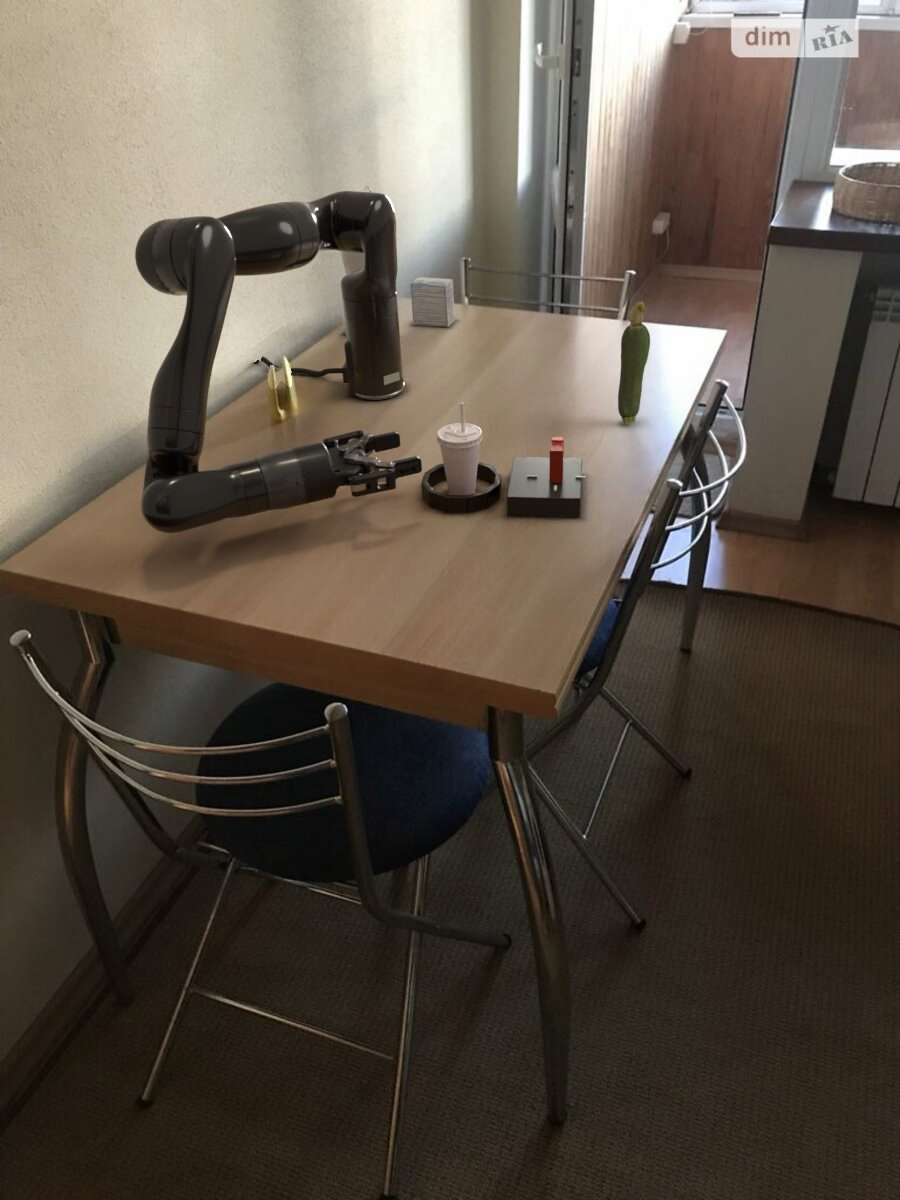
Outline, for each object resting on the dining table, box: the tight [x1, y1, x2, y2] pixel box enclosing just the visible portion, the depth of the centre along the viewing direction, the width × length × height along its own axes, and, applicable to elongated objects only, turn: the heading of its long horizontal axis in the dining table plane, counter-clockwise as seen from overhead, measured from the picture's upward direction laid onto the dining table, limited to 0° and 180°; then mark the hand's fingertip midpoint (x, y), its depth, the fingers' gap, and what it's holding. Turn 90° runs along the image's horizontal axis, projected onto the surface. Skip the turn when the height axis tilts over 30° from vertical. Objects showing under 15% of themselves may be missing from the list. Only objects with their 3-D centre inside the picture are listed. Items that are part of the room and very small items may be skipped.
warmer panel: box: [506, 456, 587, 518], centre depth 135 cm, size 11×12×3 cm
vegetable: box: [617, 300, 651, 426], centre depth 149 cm, size 4×4×20 cm
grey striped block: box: [409, 277, 456, 328], centre depth 195 cm, size 8×4×9 cm, turn 71°
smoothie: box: [436, 401, 484, 495], centre depth 133 cm, size 6×6×14 cm
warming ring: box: [420, 461, 503, 514], centre depth 137 cm, size 11×11×2 cm
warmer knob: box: [549, 436, 565, 483], centre depth 132 cm, size 4×2×5 cm, turn 172°
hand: (409, 450), depth 130 cm, fingers open, 8 cm apart
